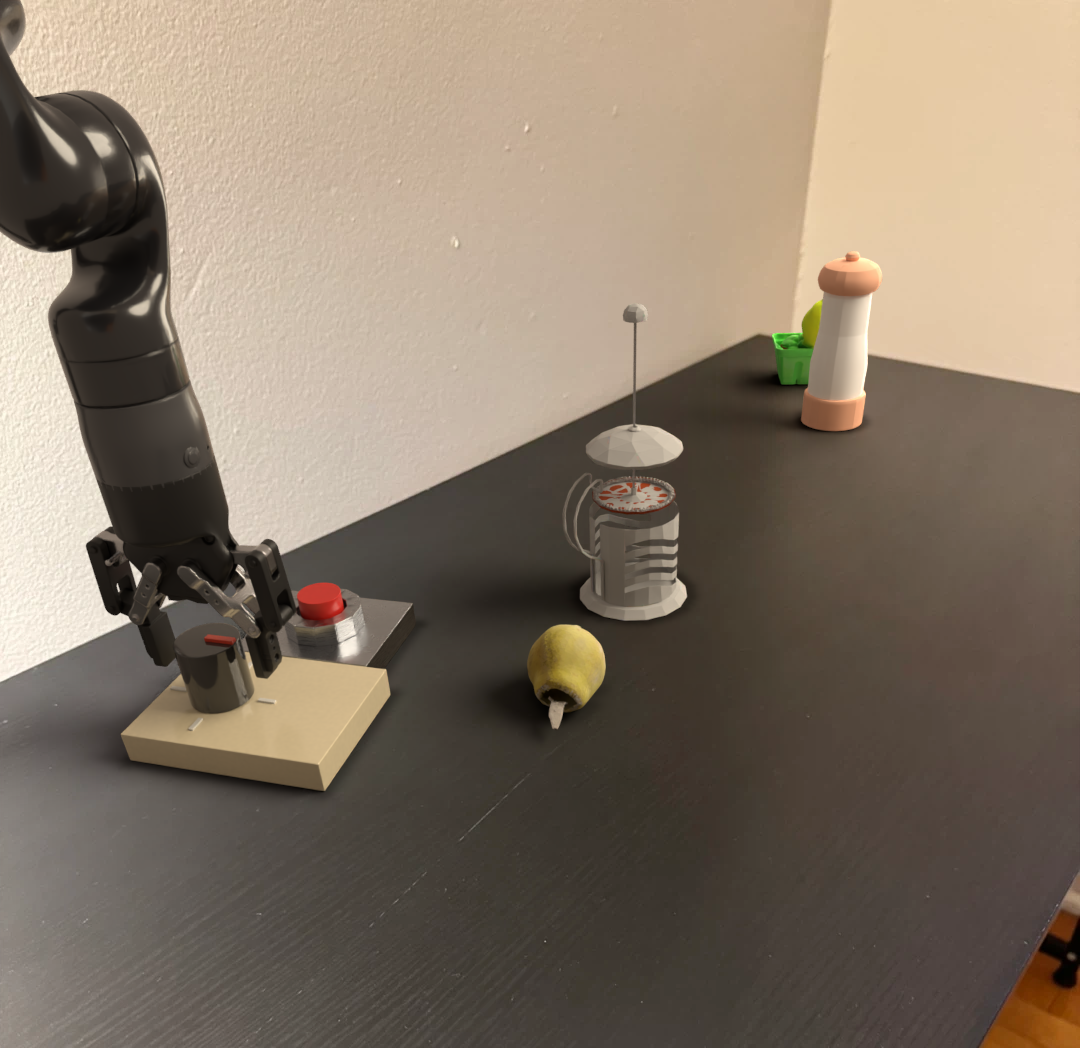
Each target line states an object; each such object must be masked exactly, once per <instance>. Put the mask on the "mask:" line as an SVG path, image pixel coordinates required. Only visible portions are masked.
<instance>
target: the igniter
mask: <svg viewBox="0 0 1080 1048" xmlns="http://www.w3.org/2000/svg"><path fill="white" fill-rule="evenodd" d="M340 590H341V595H342V600H343V605H344V610H343V612H342V613H340V614H338V615H336V616H334V617H332V618H329V619H323V620H317V621H315V620H306V619H303V618H302V617H301V613H300V609H299V605H298V600H297V594H298V592H299V591H300V590H292V589H291V592H292V595H293V599H294V602H295V605H296V609H297V611H296V613H295V614H294V615H293V617H292V618H291V619H290V620H289V621H288V622H287V623H286V624H285V625H284V626H283V628H282V629H281V630H280V631H279V632H276V633H277V637H278V641H279V646H280V650H281V653H282V656H283V657H291V658H299V659H307V660H315V661H323V662H331V663H339V664H347V665H355V666H364V667H372V668H380V669H386V668H387V666H388V665H389V663H390V662H391V660H392V659H393V657H394V656H395V655H396V653H397V652H398V651H399V649H400V648H401V647H402V645H403V643H404V642H405V641H406V640H407V638H408V637H409V635H410V634H411V632H412V631H413V630H414V628H415V627H416V626H417V621H416V615H415V608H414V603H413V602H406V601H398V600H397V601H394V600H385V599H376V598H367V597H360V595H358V594H357V593H355V592H353V591H351V590H349V589H348V588H347V589H346V588H340ZM246 636H247V634H245V636H244V637H243V638H241V640H242V644H243V647H244V651H245V652H249V650H248V646H247V643H246V639H245V637H246Z"/></svg>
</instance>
